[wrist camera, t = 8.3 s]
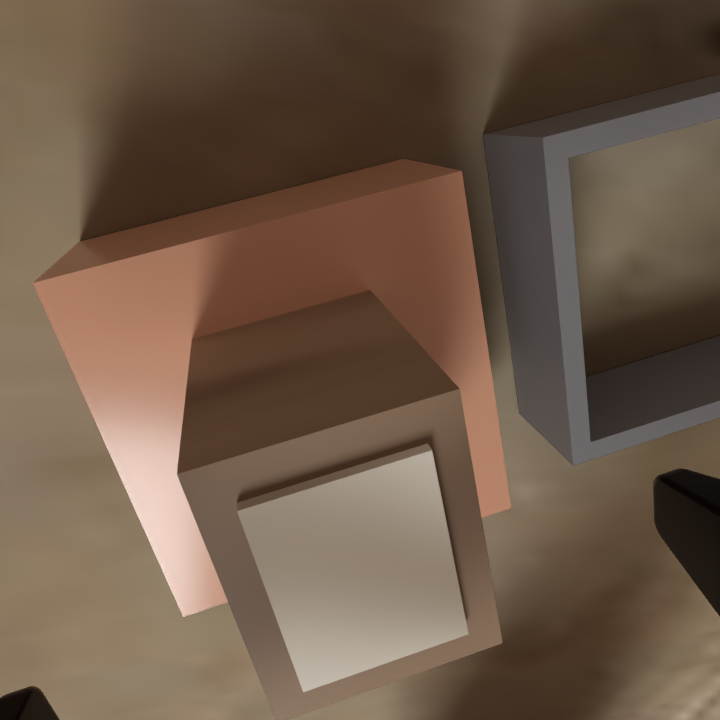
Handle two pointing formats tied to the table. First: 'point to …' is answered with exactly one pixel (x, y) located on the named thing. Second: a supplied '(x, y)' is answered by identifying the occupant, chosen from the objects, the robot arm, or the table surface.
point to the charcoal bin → (561, 292)
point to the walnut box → (336, 501)
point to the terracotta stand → (258, 302)
